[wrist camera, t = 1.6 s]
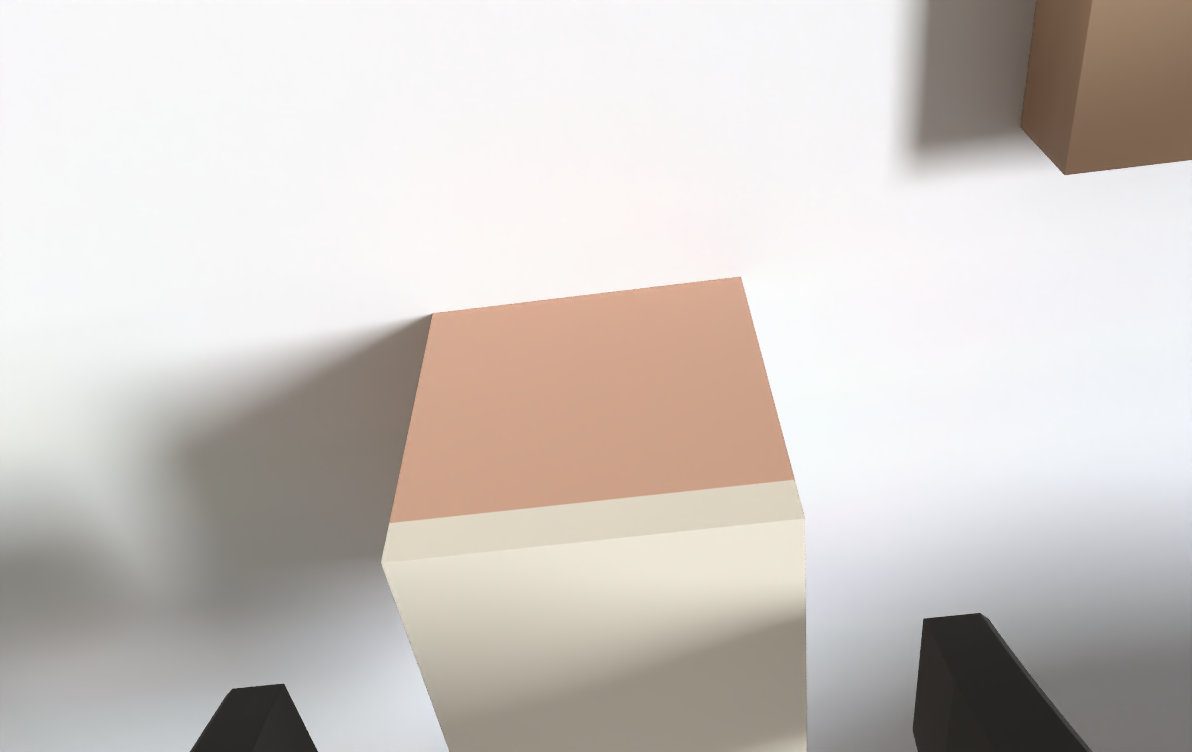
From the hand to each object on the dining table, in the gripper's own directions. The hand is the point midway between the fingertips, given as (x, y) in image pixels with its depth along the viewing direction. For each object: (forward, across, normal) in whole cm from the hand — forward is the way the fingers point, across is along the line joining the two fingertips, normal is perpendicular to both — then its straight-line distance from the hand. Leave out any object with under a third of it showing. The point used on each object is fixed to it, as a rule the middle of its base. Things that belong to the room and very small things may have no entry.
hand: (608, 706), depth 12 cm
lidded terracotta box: (+5, 0, 0) cm, 5 cm away
